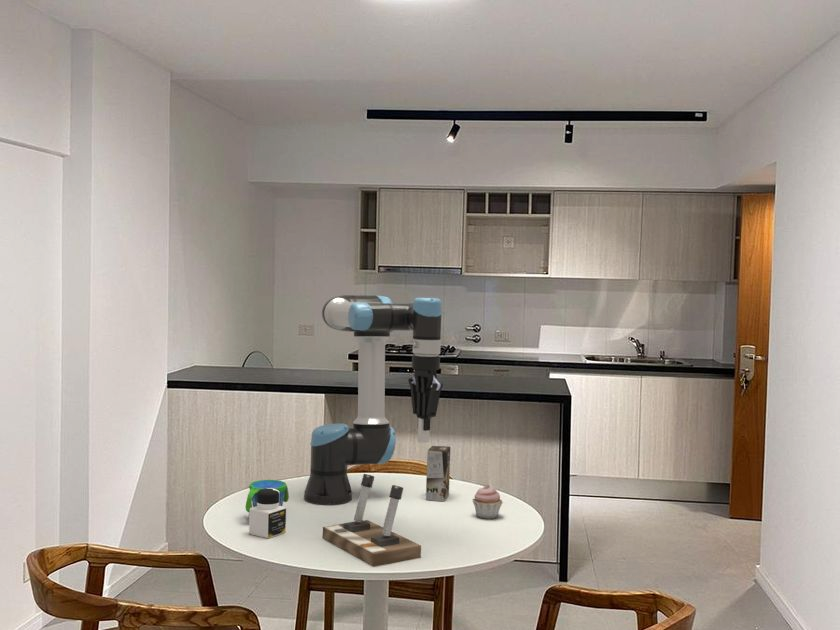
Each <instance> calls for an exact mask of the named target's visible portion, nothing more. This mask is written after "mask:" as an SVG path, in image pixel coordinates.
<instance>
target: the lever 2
mask: <svg viewBox="0 0 840 630" xmlns="http://www.w3.org/2000/svg"><path fill="white" fill-rule="evenodd" d="M403 491H404V487H403V486H400V485H396V484H391V488H390V493H389V495H388V497H389V499H390V500H389V502H388V507H387V510H386V515H385V519H384V523H383V526H382V527H383V530H382V534H383V535H385V536H390V534H391V531H393V530H392V529H393V525H394V523H395V522H394V521H395V517H396V515H397V514H396V513H397V510H398V505H399V502H400V500H401V499H402V495H403Z"/></svg>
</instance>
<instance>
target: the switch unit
mask: <svg viewBox="0 0 840 630" xmlns="http://www.w3.org/2000/svg"><path fill="white" fill-rule="evenodd" d="M382 530H383V526H381V525H379V524H377V523H375V522H372V521H371V520H369V519H365V520H364V519H362V522H356V521H354V520H353V521H350V522H343V523H339V524H333V525H327V526H323V527H322V539H323V538H324V540H325V541H327V542H329V543H331V544H332V543H333V544H332V545H334V546H336V547H338V548H339V549H341V550H344V551H345V552H347V553H348V554H350V553H351V554H350V555H352V556H354V557H356V558H358V559H359V560H361V559H362V561H363V560H364V561H363V562H366V563H367V564H369V565H370V564H371V565H370V566H371V567H372V566H373V567H376V566H382V565H388V564H392V563H398V562H402V561H409V560H412V559H417V558H421V557H422V545H421V544H419V543H417V542H414V541H413V540H410V539H408V538H406V537H404V536H402V535H400V534H398V533H396V532H394V531H393V530H391V534H390V536H385V535H383V534H382Z"/></svg>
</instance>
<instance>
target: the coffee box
mask: <svg viewBox="0 0 840 630" xmlns="http://www.w3.org/2000/svg"><path fill="white" fill-rule="evenodd" d="M426 454H427V456H426V481H425V483H426V484H425V501H435V502H436V501H437V502H445V501H446V499H447V498H448V497H449V495H450V475H451V474H450V473H451V446H443V445H441V446H440V445H431V447H429V448H428V449H427V453H426Z"/></svg>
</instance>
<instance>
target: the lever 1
mask: <svg viewBox="0 0 840 630" xmlns="http://www.w3.org/2000/svg"><path fill="white" fill-rule="evenodd" d="M361 479H362V480H361V483H360V486H361V489H360V493H359V497H358V501H357V504H356V509H355V513H354V517H353V522H354V521H356V522H362V520H363V517H364V514H365V509H366V506H367V501H368V498H369V494H370V490H371V489H372V487H373V483H374V482H375V481H374V479H375V476H374V475H372V474H367V473H363V475H362V478H361Z"/></svg>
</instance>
